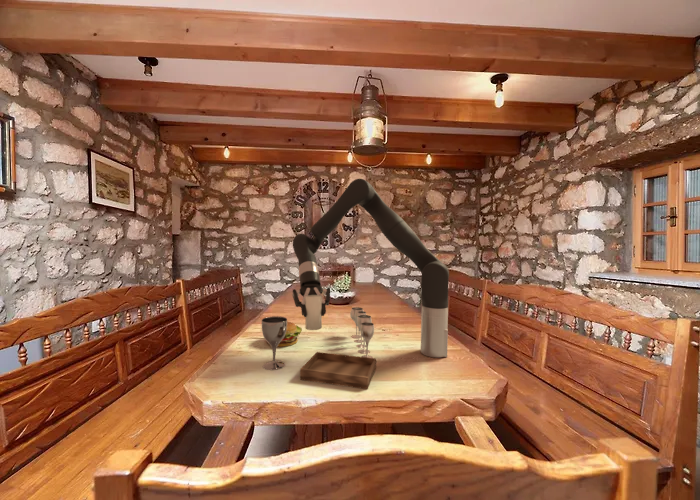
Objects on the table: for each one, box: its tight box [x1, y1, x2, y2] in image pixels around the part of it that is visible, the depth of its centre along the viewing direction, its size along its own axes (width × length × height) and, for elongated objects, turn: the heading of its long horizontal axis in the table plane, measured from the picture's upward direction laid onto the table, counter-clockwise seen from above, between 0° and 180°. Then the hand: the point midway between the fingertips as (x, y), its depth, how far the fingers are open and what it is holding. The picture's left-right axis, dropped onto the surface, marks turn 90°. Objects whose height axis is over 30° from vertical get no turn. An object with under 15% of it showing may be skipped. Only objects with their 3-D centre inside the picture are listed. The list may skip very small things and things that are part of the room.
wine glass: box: [261, 315, 288, 371], centre depth 99 cm, size 8×8×15 cm
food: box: [267, 320, 303, 348], centre depth 121 cm, size 14×14×8 cm
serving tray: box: [299, 351, 377, 390], centre depth 94 cm, size 20×14×3 cm
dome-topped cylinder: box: [304, 294, 323, 331], centre depth 107 cm, size 6×6×11 cm
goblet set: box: [349, 306, 375, 358], centre depth 118 cm, size 28×6×13 cm, turn 8°
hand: (314, 315), depth 106 cm, fingers closed on dome-topped cylinder, 5 cm apart
